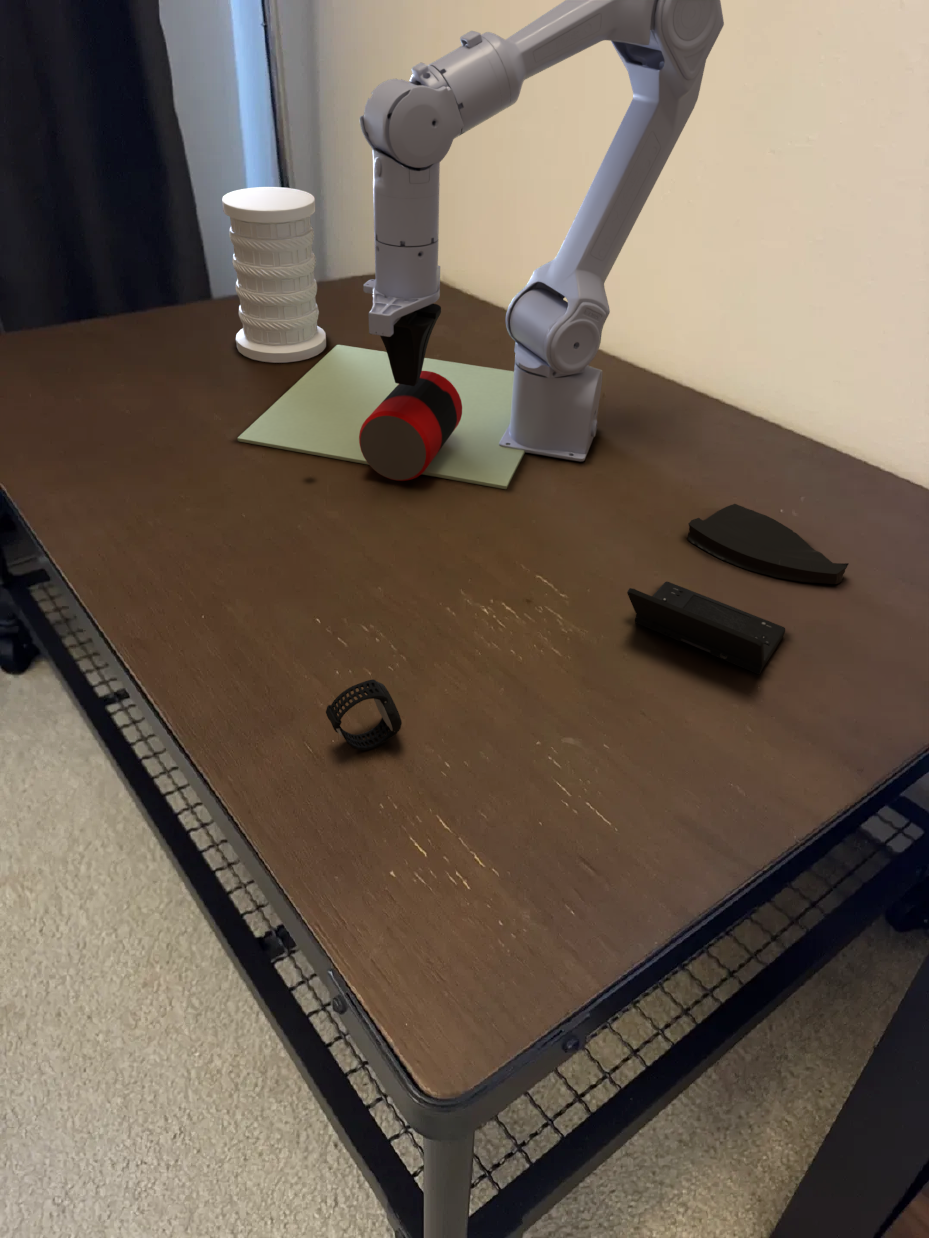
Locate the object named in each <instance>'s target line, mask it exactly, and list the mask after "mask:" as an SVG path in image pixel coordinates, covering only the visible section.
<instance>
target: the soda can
mask: <svg viewBox="0 0 929 1238" xmlns="http://www.w3.org/2000/svg"><path fill="white" fill-rule="evenodd" d="M461 416H462V402H461V399H460V396H459V394H458V392H457V390H456V388H455V387H454V386H453V385H452V383H451V382H450V381H448V380H447V379H446V378H445V377H443V376H441V375H440V374H437V373H434V372H430V371H421V375H420V378H419V381H418V382H417V383H416V385H415V386H410V385H404V384H398V385H397V386H396V387H395V389H394V390H393V391H392V392H391V393H390V394H389V395H388V396H387V397H386V398H385V399H384V401H383V402H382V403H381V404H380V405H379V406H378V407H377V408H376V409H375V410H374V411H373V413H372V414H371V415H370V416H369V417H368V418H367V419H366V420H365V422H364V423H363V425H362V427H361V429H360V434H359V444H360V448H361V452H362V454H363V456H364V458H365V459H366V461H367V463H368V464H369V466H370V467H371V468H372V469H373V470H374V471H375V472H376V473H377V474H379V475H380V476H382V477H384V478H386V479H389V480H393V481H396V482H397V481H398V482H405V481H406V482H407V481H411V480H415V479H416V478H418V477H419V476H421V475H423V474H422V473H423V472H424V471H425V470H426V468H427V467H428V466H429V464H430V463H431V461H432V460H433V459H434V457H435V456H436V455H437V453H438V452H439V450H440V449H441V448H442V446H443V445H444V444H445V442H446V441H447V439H448V438H449V437H450V435H451V434H452V433H453V431H454V430H455V428H456V427H457V426H458V424H459V422H460V420H461ZM368 464H367V465H368Z"/></svg>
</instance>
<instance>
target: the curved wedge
mask: <svg viewBox="0 0 929 1238" xmlns="http://www.w3.org/2000/svg"><path fill="white" fill-rule="evenodd" d="M688 527H689V528H688V534H687V538H686V539H687V541H688V542H690V543H691V544H692V545H695V546H696V547H698V548H700V549H701V550H703V551H705V552H706V553H708V554H710V555H712V556H713V557H716V558H718V559H719V560H722V561H724V562H726V563H729V564H731V565H733V566H735V567H738V568H741V569H744V570H747V571H750V572H754V573H757V574H762V575H764V576H765V575H766V576H770V577H772V578H776V579H783V580H788V581H794V582H802V583H809V584H810V583H811V584H825V585H838V584H840V583H841V582H843V577H844V575H845V572H846V570H847V568H848V566H849V565H850V564H849V562H848V563H847V562H845V563H841V562H839V563H837V562H832V561H831V560H830V559H829V558H828V557H827V556H825V555H824V554H823V553H822V552H821V551H818V550H815V549H814V548H813V547H812V546H811V545H810V544H809V543H807V541H806V540H805V539H803V537H801V536H800V535H799V534H798V533H797V532H795V531H794V530H792V528H789V527H788V526H786V525H784V524H783V523H781V522H779V521H778V520H776V519H774V518H772V517H770V516H768V515H766V514H764V513H761V512H757V511H755V510H752V509H749V508H747V507H744V506H741V505H740V504H737V503H733V504H730V505H727V506H725V507H723V508H721V509H719V510H717V511H715V512H714V513H713V514H712V515H709V516H708V517H707V518H705V519H702V518H700V517H697V518H694V519H691V520H690V521H689V522H688Z"/></svg>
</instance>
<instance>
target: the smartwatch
mask: <svg viewBox="0 0 929 1238" xmlns="http://www.w3.org/2000/svg"><path fill="white" fill-rule="evenodd" d="M357 690H358V691H357ZM352 692H353V693H352ZM355 698H356V699H355ZM367 700H373V701H374V703H375V705H376V708H377V710H378V712H379V714H380V716H381V718H380V720H379V722H378V723H377V725H375V726H374V727H373V728H371V729H370V730H367V731H365V732H363V733H359V734H356V733H355V734H354V733H350V732H348V731H346V730H344V729H343V728H342V726H341V725H342V718H343V717H344V716H345V714H347V712H348V711H350V710H351V709H352V708H353V707H355V706H356V705H357V704H359V703H362V702H364V701H367ZM347 704H348V705H347ZM343 707H344V708H343ZM325 714H326V717H327V719H328V720H329V722H330V725H331V726H332V728H333V730H334V732H335V733H337V734H339V736H340V737H341V738H343V739H344V740H345V742H346V743H347V744H348V745H349V746H350V747H351V748H353V749H356V750H358V751H369V750H372V749H374V748H376V747H378V746H380V745H382V744H383V743H386V742H387V741H389V740H390V739H391V738H393V737H395V736H396V735H397V734H398V733H399V732H400V730H401V727H402V724H403V722H402V718H401V715H400V713H399V710H398V707H397V706H396V703H395V701H394V700H393V697H392V695H391V694H390V692H389V690H388V688H387V687H386V686H385V685H384V683H381V682H379V681H377V680H376V679H374V678H373V679H368V680H364V681H362V682H360V683H357V684H354V685H351V686H350V687H347V688H346V689H345V690H343V691H342V692H341V693H339V694H338V696H336V697H335V699H333V701H332V703H331V704H328V705H327V707H326V710H325ZM373 734H374V735H373ZM368 736H369V738H368ZM380 737H382V738H380Z"/></svg>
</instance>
